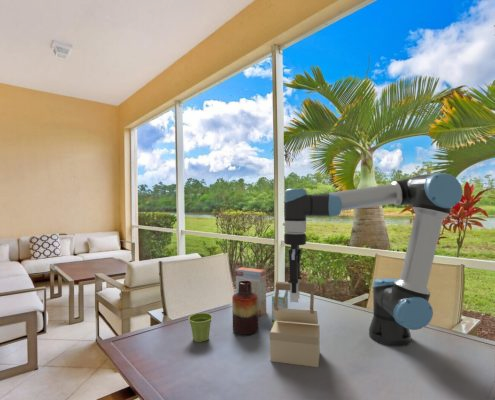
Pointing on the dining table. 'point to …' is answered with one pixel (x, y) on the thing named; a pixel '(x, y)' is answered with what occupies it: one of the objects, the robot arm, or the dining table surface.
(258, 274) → the cracker box
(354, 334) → the dining table surface
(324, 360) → the dining table surface
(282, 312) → the flap
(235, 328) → the vase
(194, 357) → the dining table surface
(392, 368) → the dining table surface
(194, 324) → the plant pot
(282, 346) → the carton
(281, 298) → the snack box
